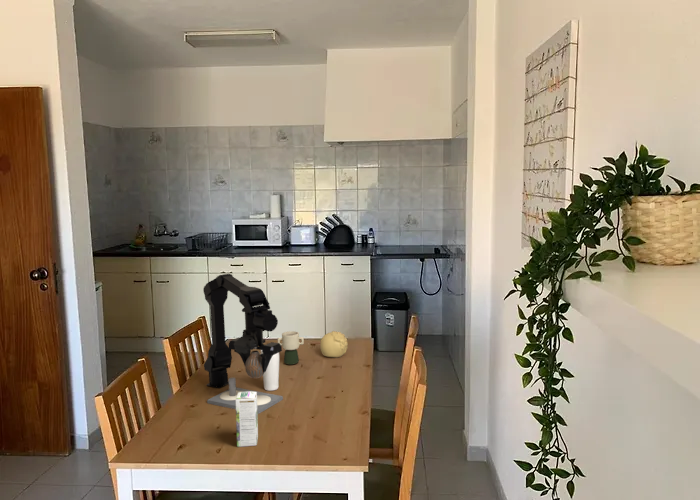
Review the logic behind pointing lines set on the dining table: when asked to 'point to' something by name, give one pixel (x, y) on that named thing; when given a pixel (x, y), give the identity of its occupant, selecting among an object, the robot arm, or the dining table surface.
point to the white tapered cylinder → (272, 374)
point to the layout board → (230, 395)
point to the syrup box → (246, 419)
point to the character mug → (291, 346)
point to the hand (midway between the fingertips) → (255, 370)
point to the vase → (254, 365)
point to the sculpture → (333, 344)
